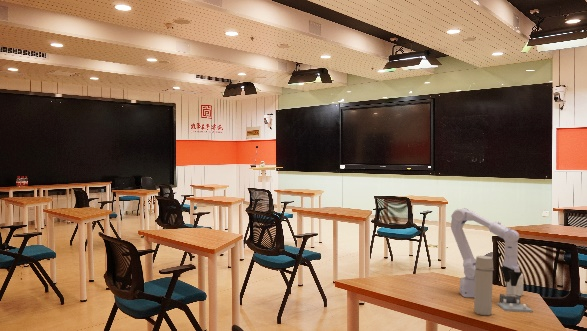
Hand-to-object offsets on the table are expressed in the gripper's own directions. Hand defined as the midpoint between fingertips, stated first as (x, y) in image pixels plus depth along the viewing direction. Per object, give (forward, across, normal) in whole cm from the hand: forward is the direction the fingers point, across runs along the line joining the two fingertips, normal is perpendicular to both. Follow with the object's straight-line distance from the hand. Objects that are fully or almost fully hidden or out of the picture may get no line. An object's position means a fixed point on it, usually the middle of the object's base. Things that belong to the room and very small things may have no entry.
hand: (510, 283), depth 211 cm
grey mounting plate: (+9, -8, +1) cm, 12 cm away
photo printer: (+10, +14, -8) cm, 18 cm away
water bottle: (+10, -16, +18) cm, 26 cm away
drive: (+10, 0, 0) cm, 10 cm away
